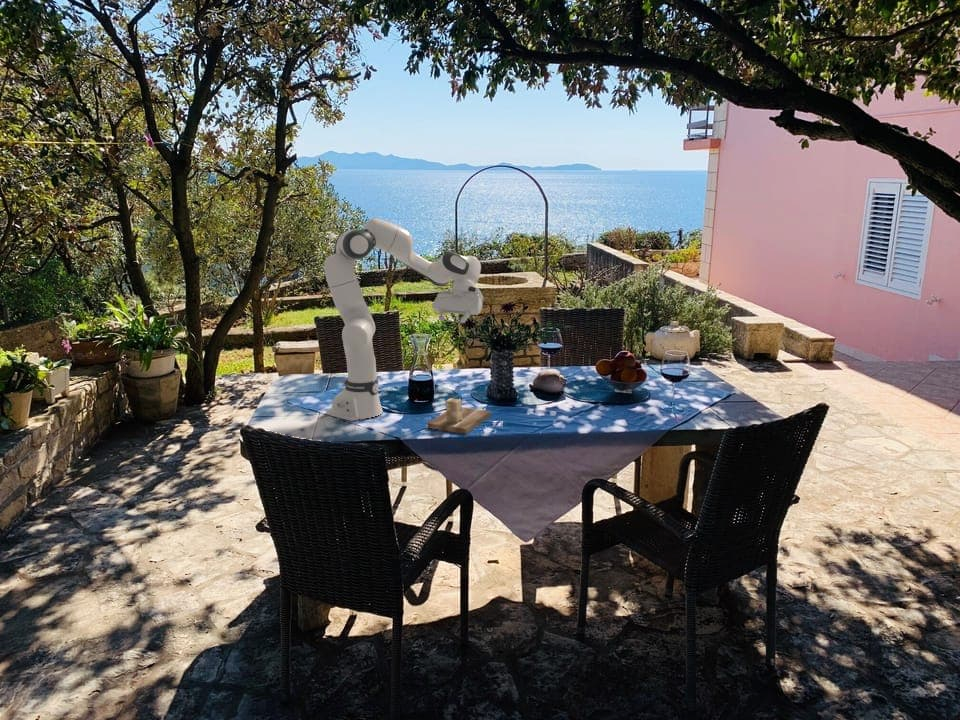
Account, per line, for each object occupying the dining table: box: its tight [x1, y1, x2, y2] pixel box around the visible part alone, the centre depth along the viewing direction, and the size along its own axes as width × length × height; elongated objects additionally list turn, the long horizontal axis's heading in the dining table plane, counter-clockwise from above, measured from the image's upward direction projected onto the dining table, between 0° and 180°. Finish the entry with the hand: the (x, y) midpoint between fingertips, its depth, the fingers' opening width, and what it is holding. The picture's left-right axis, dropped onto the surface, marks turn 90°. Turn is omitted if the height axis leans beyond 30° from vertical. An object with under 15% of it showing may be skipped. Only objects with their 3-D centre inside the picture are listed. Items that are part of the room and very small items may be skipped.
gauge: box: [445, 398, 463, 423], centre depth 254 cm, size 6×4×8 cm, turn 65°
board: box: [427, 407, 492, 435], centre depth 259 cm, size 16×21×2 cm
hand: (451, 321), depth 268 cm, fingers open, 8 cm apart
